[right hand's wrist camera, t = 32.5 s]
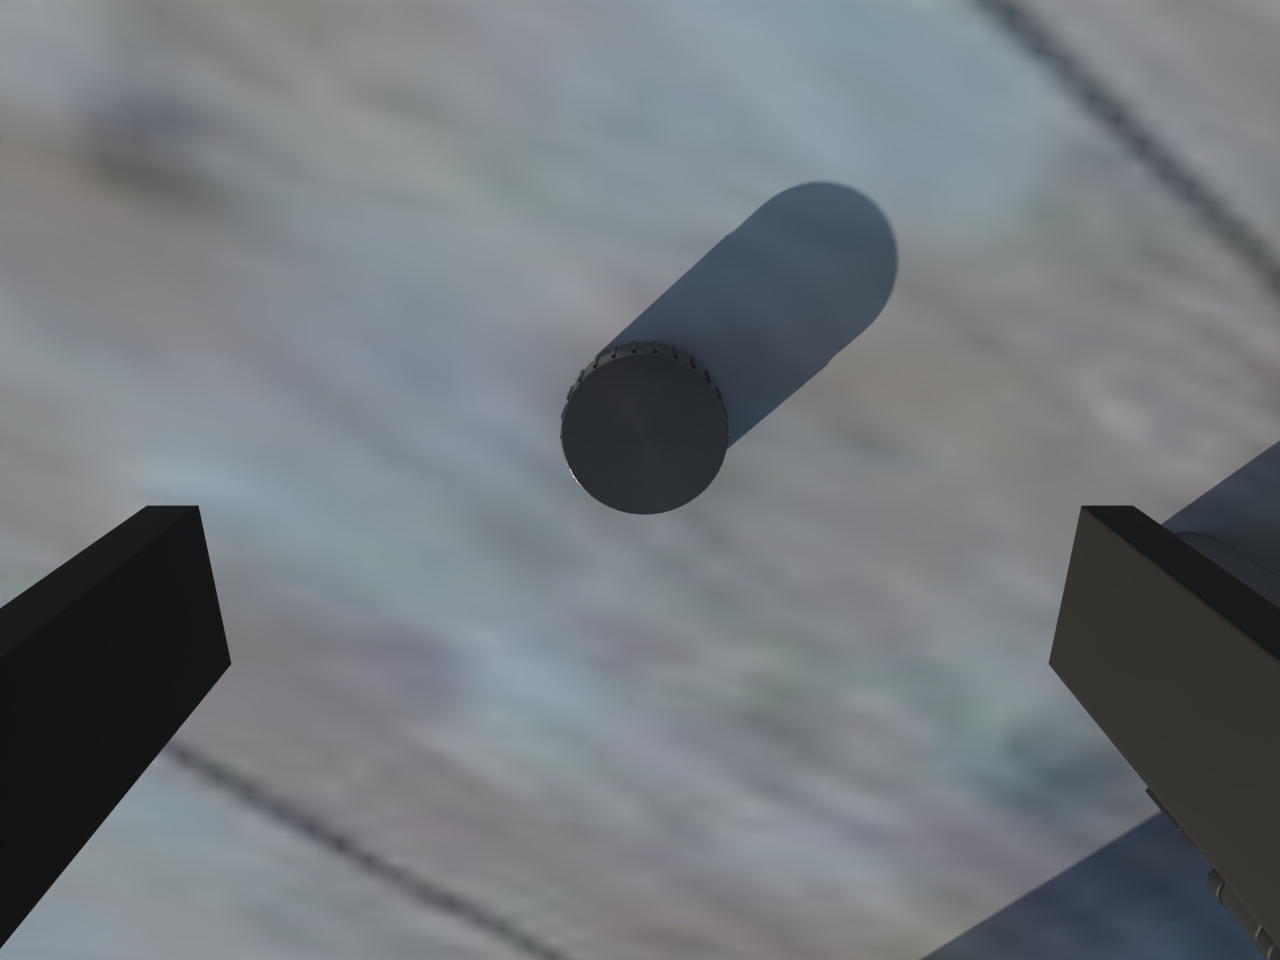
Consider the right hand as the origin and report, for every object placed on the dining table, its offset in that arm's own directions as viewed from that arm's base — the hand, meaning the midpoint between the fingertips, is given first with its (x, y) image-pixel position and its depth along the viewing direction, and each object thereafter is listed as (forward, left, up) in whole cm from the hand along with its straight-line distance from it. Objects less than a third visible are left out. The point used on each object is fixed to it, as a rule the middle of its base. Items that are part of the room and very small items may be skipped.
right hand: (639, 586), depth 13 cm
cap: (+1, 0, -11) cm, 11 cm away
